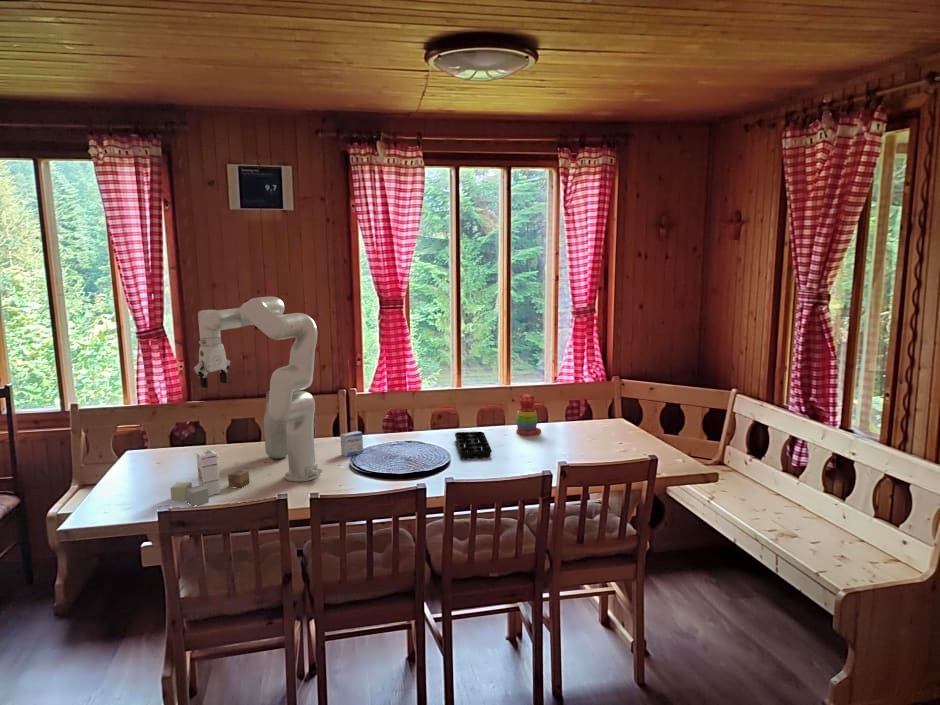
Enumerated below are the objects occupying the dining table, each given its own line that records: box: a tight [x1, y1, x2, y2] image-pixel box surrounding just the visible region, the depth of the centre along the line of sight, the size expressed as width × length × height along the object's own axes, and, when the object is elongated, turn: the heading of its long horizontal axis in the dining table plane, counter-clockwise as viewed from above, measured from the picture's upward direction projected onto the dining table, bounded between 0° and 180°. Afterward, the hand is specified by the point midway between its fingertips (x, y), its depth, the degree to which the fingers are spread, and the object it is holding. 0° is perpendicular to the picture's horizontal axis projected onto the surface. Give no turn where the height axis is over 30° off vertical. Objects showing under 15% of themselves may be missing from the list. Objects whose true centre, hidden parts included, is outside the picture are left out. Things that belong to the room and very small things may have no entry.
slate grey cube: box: [186, 484, 210, 507], centre depth 221 cm, size 5×5×5 cm
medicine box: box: [339, 430, 364, 458], centre depth 272 cm, size 8×4×9 cm, turn 131°
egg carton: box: [454, 431, 493, 460], centre depth 276 cm, size 18×30×4 cm, turn 18°
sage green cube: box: [170, 481, 193, 502], centre depth 225 cm, size 5×5×5 cm
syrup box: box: [196, 449, 221, 497], centre depth 229 cm, size 6×6×14 cm
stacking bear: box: [515, 393, 542, 437], centre depth 296 cm, size 11×10×18 cm
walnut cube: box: [227, 469, 251, 489], centre depth 237 cm, size 5×5×5 cm
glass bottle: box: [263, 390, 288, 460], centre depth 266 cm, size 10×10×28 cm
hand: (214, 385), depth 261 cm, fingers open, 9 cm apart
